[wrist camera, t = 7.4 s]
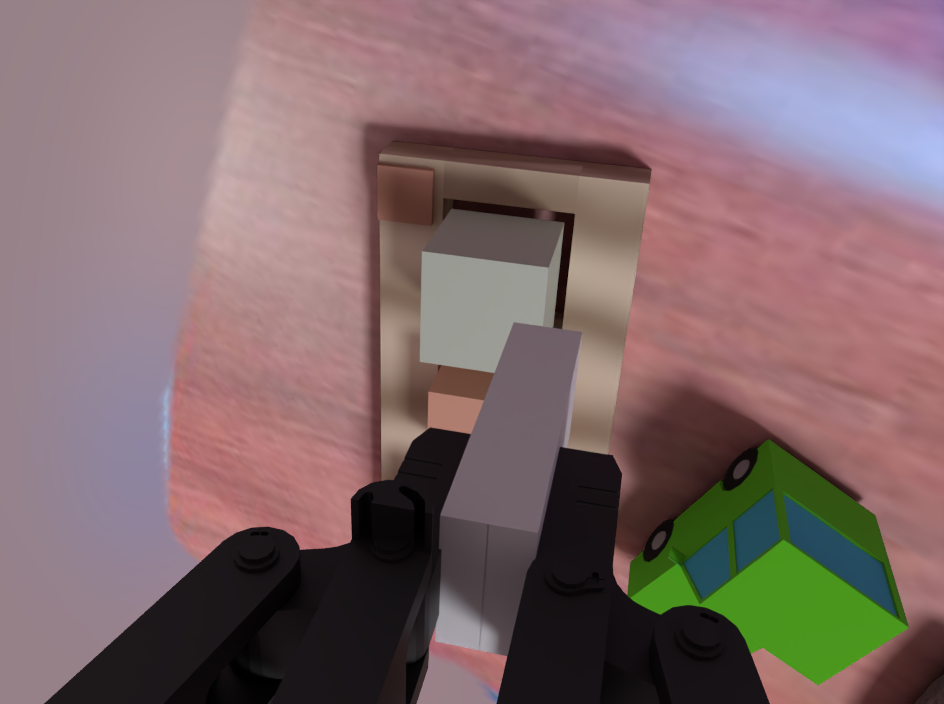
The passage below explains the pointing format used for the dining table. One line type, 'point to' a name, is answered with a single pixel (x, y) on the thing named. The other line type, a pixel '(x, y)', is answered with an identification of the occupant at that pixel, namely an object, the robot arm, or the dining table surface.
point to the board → (588, 288)
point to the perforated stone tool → (933, 693)
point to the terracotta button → (457, 398)
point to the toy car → (778, 565)
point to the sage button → (485, 285)
